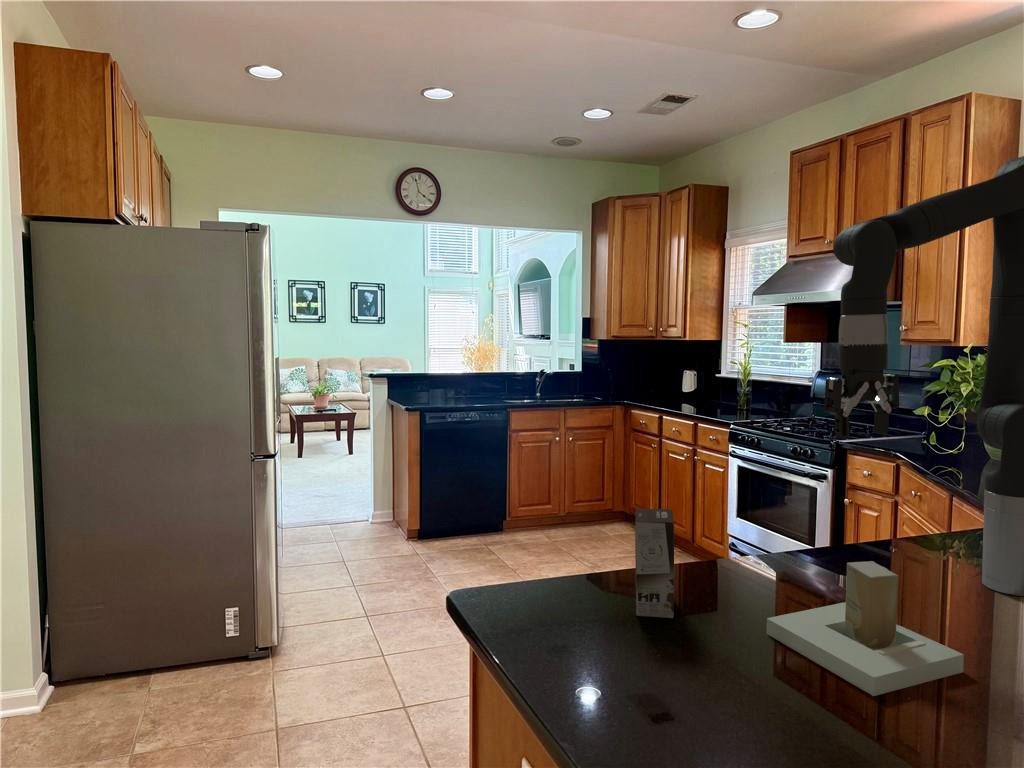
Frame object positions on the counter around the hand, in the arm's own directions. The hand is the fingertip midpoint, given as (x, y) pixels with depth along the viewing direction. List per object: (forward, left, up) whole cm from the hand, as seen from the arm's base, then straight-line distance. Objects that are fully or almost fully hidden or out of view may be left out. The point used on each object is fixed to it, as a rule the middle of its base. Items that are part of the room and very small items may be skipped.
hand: (861, 436), depth 121 cm
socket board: (+17, +16, -28) cm, 37 cm away
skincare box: (+15, +16, -28) cm, 36 cm away
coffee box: (+35, -10, -28) cm, 46 cm away
